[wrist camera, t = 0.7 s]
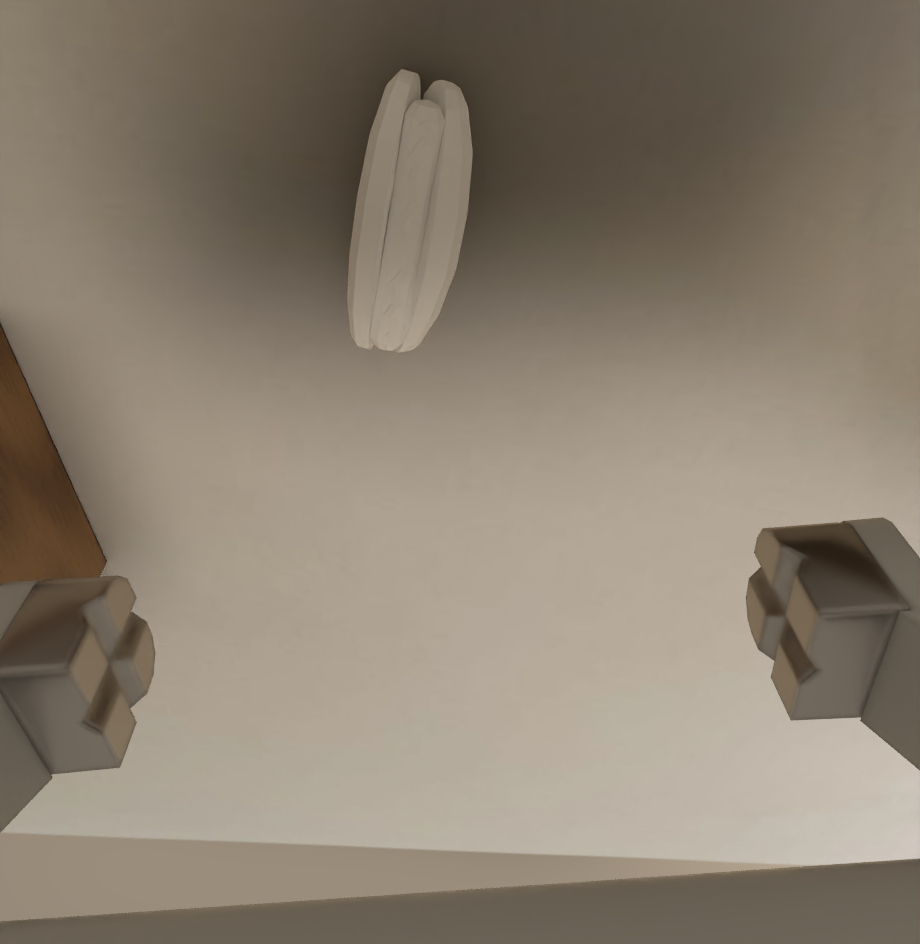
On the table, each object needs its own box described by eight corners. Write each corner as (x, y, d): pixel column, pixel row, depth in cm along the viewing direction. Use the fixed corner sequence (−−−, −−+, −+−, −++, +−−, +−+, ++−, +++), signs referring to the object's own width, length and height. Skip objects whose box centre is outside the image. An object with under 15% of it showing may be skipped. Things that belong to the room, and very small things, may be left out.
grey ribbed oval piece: (341, 323, 26) (333, 364, 23) (377, 54, 21) (372, 73, 19) (435, 339, 26) (436, 381, 24) (490, 80, 22) (497, 101, 19)
